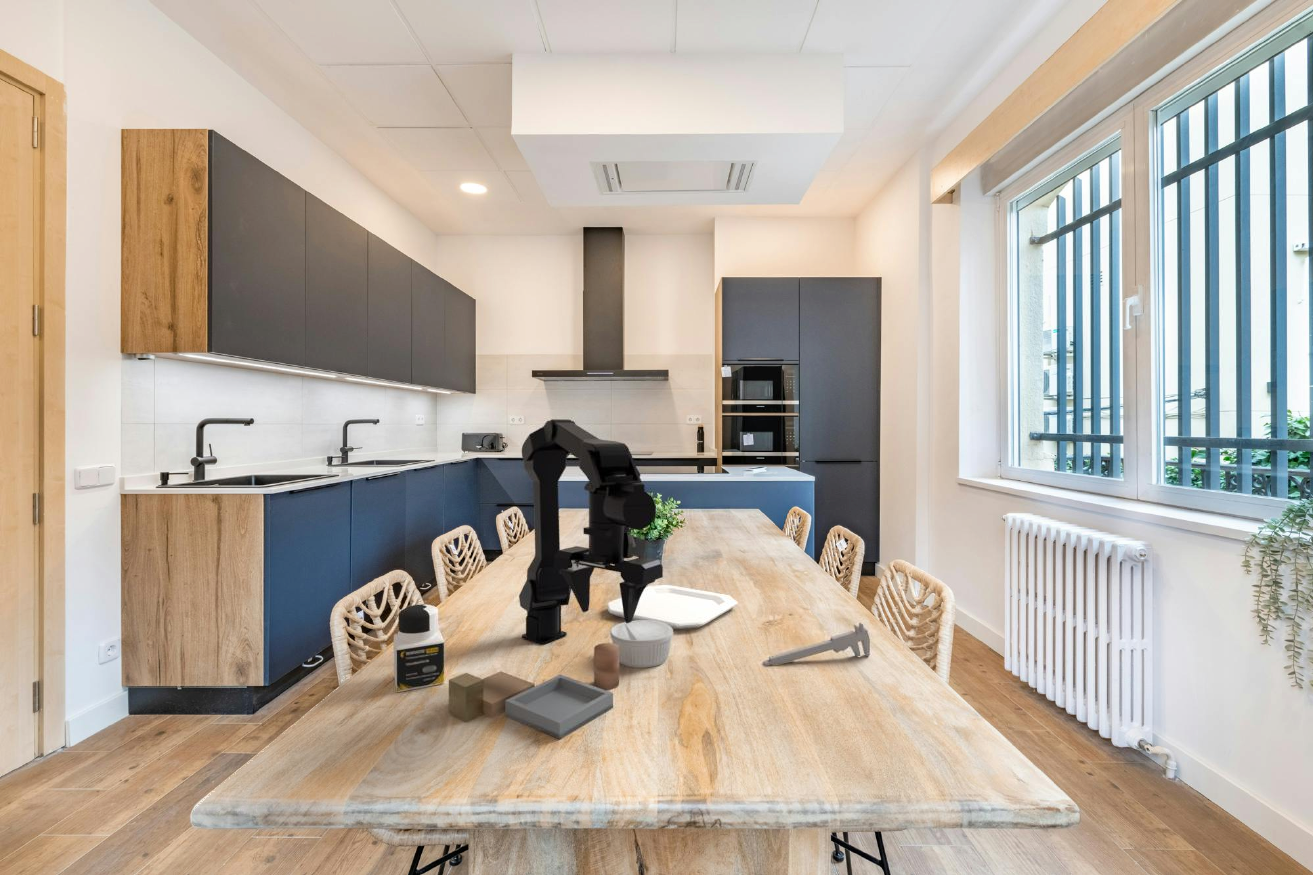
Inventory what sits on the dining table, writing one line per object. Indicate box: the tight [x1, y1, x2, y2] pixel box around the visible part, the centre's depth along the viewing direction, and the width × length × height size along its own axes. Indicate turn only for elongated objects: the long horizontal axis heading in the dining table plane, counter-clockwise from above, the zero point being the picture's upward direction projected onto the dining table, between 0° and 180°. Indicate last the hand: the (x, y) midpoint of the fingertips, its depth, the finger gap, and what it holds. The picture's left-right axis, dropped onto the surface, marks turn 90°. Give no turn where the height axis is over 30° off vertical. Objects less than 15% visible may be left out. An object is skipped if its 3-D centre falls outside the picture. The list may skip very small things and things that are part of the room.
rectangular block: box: [448, 672, 484, 723], centre depth 85 cm, size 3×4×5 cm
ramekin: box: [610, 620, 674, 669], centre depth 106 cm, size 11×11×5 cm
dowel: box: [593, 642, 620, 691], centre depth 95 cm, size 4×4×6 cm
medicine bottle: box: [393, 603, 445, 693], centre depth 96 cm, size 7×7×12 cm
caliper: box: [762, 622, 871, 667], centre depth 105 cm, size 20×1×6 cm, turn 102°
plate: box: [605, 584, 738, 630], centre depth 133 cm, size 25×25×2 cm
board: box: [482, 670, 536, 719], centre depth 89 cm, size 8×8×2 cm
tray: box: [504, 674, 614, 740], centre depth 85 cm, size 11×11×2 cm
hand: (606, 616), depth 95 cm, fingers open, 9 cm apart
